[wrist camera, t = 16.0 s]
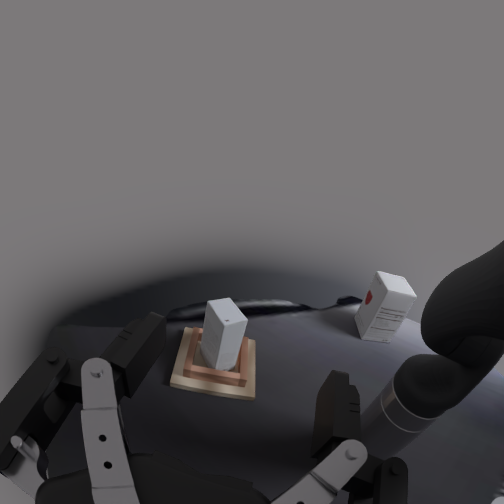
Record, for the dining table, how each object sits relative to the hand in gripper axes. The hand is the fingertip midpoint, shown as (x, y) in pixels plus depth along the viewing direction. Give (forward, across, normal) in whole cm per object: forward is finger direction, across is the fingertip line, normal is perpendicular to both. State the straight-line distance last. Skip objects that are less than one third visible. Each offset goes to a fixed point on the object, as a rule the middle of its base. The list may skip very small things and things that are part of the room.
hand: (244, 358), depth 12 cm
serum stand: (+25, +5, +31) cm, 40 cm away
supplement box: (+49, -28, +32) cm, 65 cm away
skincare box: (+24, +5, +30) cm, 39 cm away
